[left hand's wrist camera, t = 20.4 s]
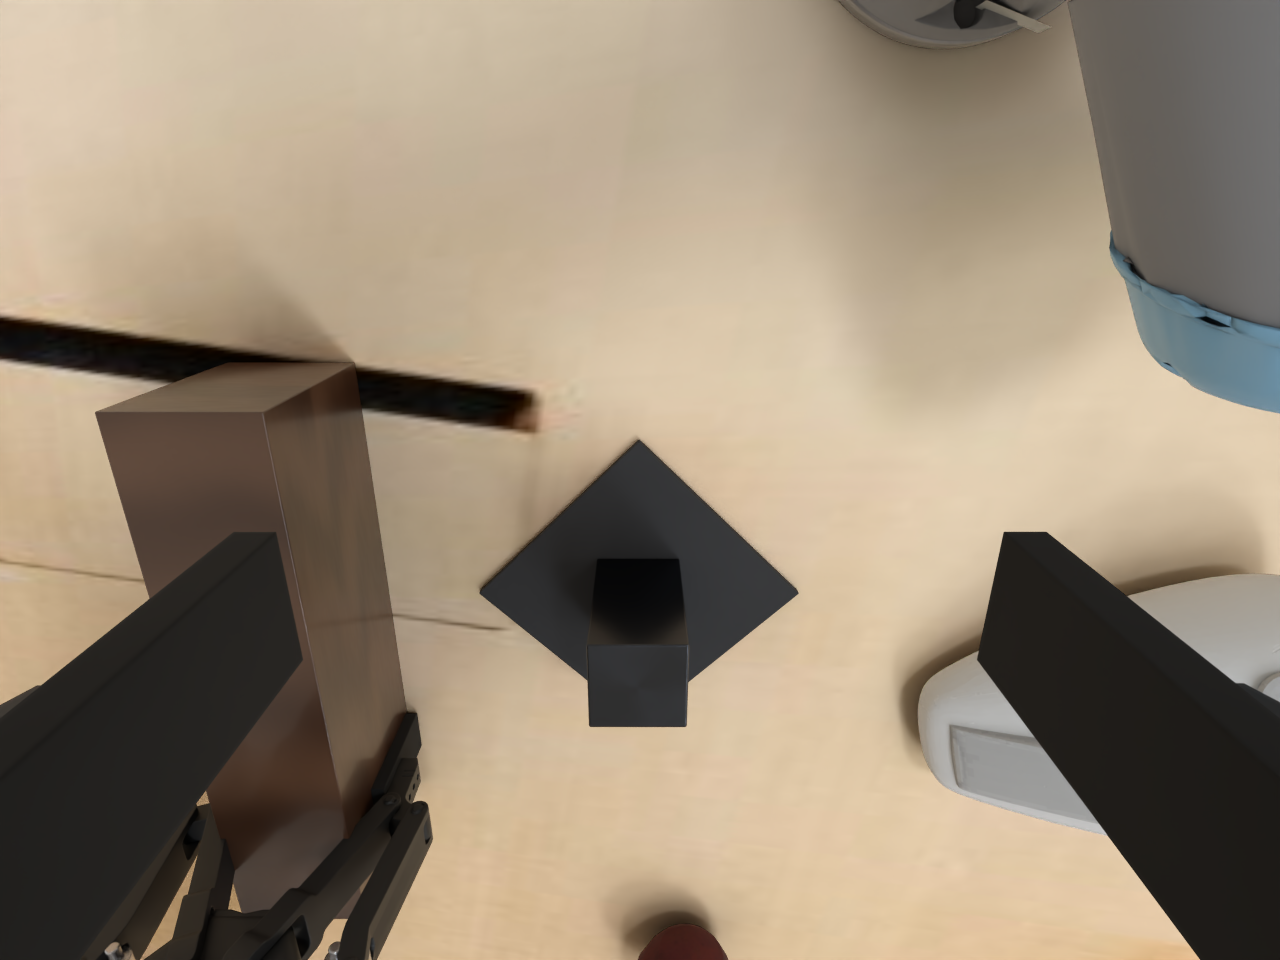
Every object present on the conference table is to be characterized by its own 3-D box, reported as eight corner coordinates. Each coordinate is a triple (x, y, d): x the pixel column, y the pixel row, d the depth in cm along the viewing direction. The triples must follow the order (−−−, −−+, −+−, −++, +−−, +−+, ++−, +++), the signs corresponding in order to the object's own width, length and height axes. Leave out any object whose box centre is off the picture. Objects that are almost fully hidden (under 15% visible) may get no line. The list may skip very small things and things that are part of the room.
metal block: (596, 558, 42) (586, 645, 34) (679, 558, 42) (689, 645, 34) (598, 628, 44) (588, 727, 35) (677, 628, 44) (686, 727, 35)
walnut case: (227, 362, 38) (94, 411, 29) (355, 362, 38) (262, 412, 29) (318, 784, 49) (243, 919, 40) (417, 784, 49) (365, 919, 40)
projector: (1089, 458, 40) (1322, 587, 26) (1371, 616, 44) (1701, 800, 30) (870, 730, 47) (963, 943, 33) (1128, 846, 51) (1307, 1078, 37)
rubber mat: (639, 439, 40) (639, 441, 39) (797, 590, 43) (799, 593, 43) (480, 590, 43) (478, 593, 43) (638, 718, 47) (638, 722, 47)
